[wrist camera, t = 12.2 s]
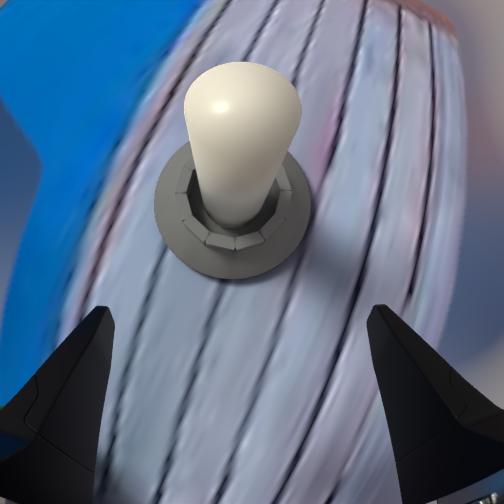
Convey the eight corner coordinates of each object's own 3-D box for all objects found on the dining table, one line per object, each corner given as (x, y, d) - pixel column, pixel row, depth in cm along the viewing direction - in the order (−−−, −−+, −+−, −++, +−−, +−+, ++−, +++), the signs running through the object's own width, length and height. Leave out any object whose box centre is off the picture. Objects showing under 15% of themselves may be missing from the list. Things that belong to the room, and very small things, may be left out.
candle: (217, 238, 23) (210, 175, 10) (194, 186, 24) (168, 82, 11) (271, 214, 24) (322, 133, 11) (246, 164, 24) (269, 51, 11)
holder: (236, 312, 24) (237, 315, 21) (126, 206, 24) (116, 196, 21) (336, 200, 25) (348, 191, 23) (230, 109, 26) (231, 92, 23)
